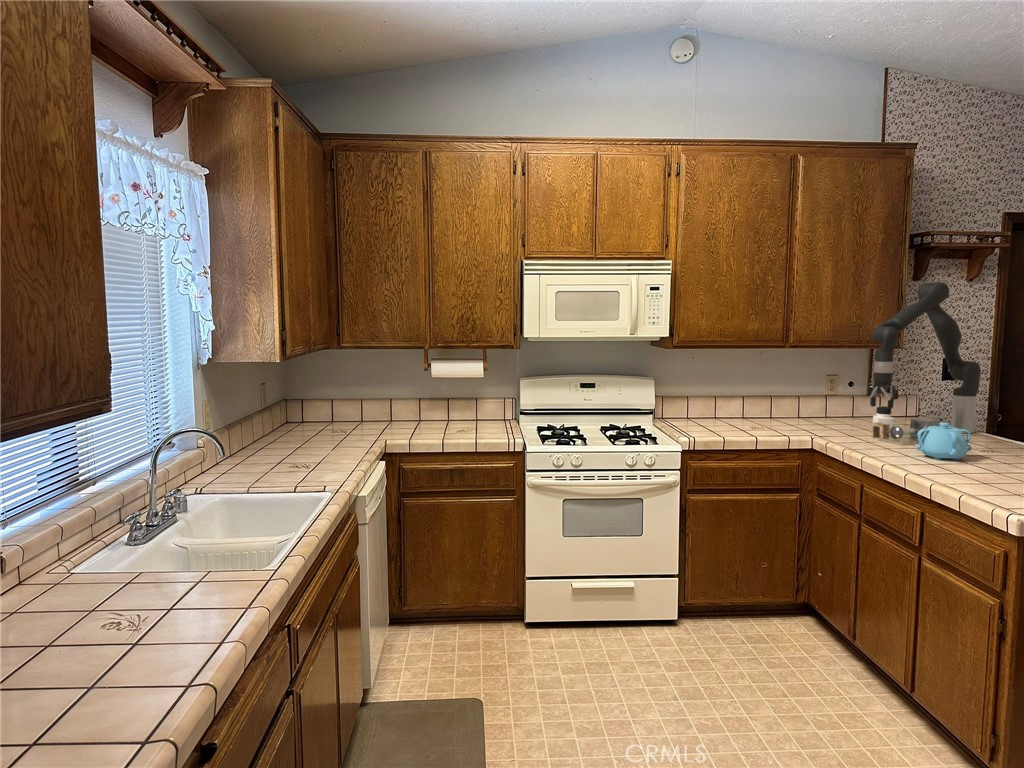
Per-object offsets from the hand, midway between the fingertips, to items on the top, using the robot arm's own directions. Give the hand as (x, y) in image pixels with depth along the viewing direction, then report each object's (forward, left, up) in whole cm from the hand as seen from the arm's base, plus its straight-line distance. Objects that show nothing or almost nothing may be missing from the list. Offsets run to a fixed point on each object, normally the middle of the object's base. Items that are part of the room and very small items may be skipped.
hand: (881, 407), depth 299 cm
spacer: (0, 0, -14) cm, 14 cm away
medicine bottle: (-15, -11, -14) cm, 23 cm away
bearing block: (-7, +10, -14) cm, 18 cm away
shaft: (-6, +10, -12) cm, 17 cm away
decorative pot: (+13, +39, -14) cm, 43 cm away
